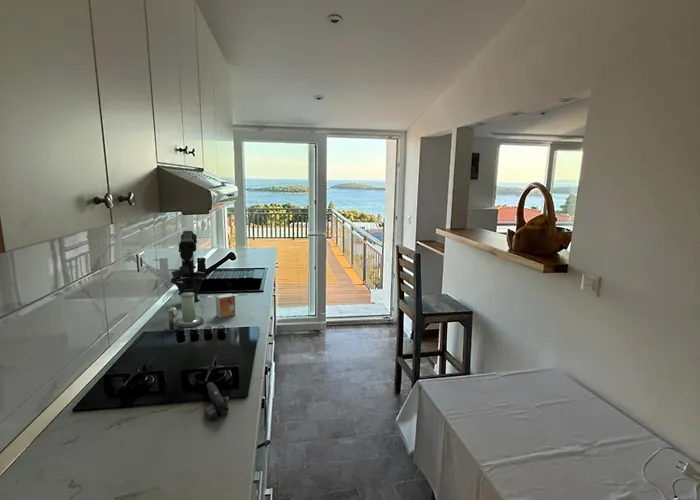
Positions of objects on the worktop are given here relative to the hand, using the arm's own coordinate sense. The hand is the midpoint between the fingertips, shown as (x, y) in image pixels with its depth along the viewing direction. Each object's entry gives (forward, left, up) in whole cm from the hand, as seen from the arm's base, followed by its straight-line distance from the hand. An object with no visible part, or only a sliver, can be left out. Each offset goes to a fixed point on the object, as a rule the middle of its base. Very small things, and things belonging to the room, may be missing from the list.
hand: (188, 294), depth 192 cm
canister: (+7, +10, -9) cm, 15 cm away
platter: (+7, +10, -10) cm, 16 cm away
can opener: (+42, +77, -11) cm, 89 cm away
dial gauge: (+17, +12, -10) cm, 23 cm away
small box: (-10, +16, -11) cm, 21 cm away
